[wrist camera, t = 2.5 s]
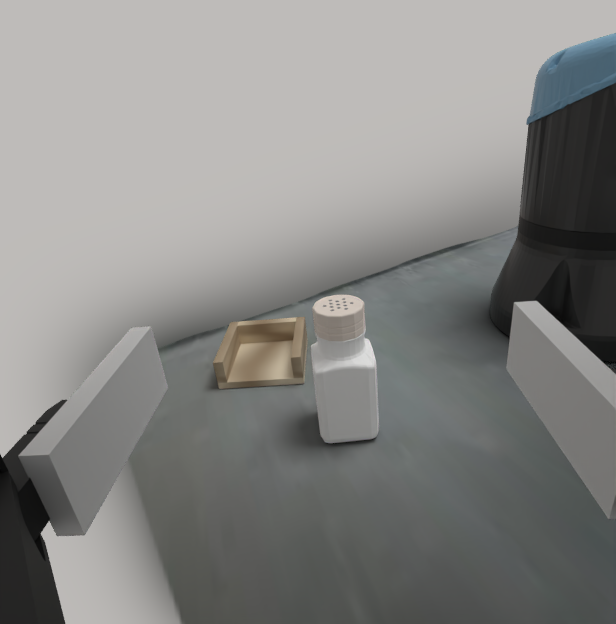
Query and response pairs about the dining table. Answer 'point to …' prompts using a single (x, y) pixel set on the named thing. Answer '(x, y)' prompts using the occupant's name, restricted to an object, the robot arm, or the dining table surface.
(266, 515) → the dining table surface
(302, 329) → the tray
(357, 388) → the pepper shaker
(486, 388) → the dining table surface
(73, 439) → the robot arm
